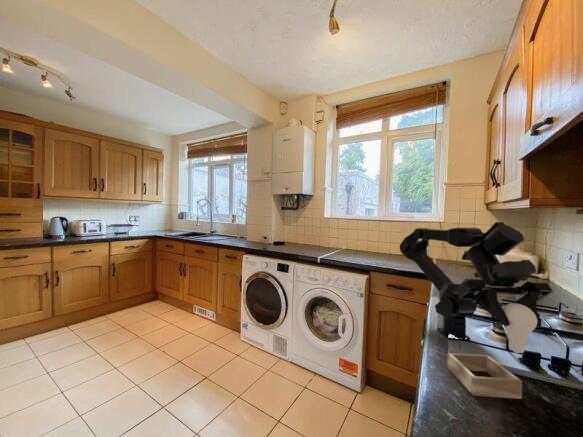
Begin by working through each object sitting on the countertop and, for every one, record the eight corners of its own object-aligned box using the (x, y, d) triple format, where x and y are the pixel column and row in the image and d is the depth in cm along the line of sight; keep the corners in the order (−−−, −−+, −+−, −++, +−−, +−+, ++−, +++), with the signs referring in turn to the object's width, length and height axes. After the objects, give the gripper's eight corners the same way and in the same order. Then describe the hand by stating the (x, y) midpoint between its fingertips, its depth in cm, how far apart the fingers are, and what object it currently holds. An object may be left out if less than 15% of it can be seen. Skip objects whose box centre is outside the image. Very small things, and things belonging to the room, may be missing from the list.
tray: (446, 367, 58) (447, 352, 58) (487, 369, 57) (487, 355, 57) (473, 395, 49) (473, 378, 49) (521, 398, 48) (522, 381, 48)
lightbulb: (497, 342, 59) (500, 297, 59) (533, 352, 55) (535, 304, 55) (498, 353, 54) (501, 304, 54) (537, 364, 50) (540, 311, 50)
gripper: (465, 245, 59) (499, 308, 48) (546, 248, 57) (601, 313, 47) (445, 270, 67) (471, 329, 56) (516, 273, 65) (557, 333, 55)
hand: (522, 326), depth 53 cm, fingers closed on lightbulb, 6 cm apart
